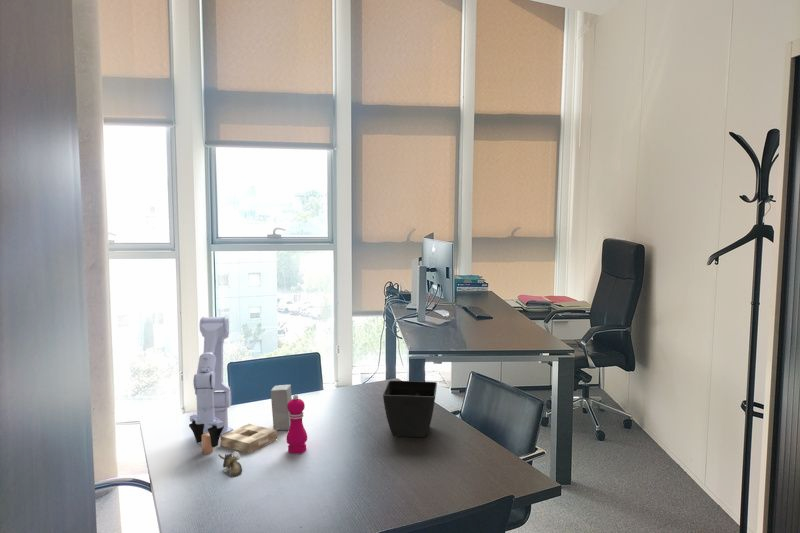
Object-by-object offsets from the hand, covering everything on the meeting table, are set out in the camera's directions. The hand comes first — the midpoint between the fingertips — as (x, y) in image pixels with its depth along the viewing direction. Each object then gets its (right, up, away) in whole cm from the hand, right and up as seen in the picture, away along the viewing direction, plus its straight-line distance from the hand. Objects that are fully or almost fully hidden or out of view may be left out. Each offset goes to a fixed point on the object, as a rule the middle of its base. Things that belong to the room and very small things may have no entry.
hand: (207, 444), depth 209 cm
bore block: (+13, -2, +8) cm, 15 cm away
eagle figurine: (+13, -4, -16) cm, 21 cm away
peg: (0, -3, 0) cm, 3 cm away
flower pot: (+72, 0, +17) cm, 74 cm away
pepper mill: (+31, -2, 0) cm, 31 cm away
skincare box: (+22, 0, +23) cm, 32 cm away
